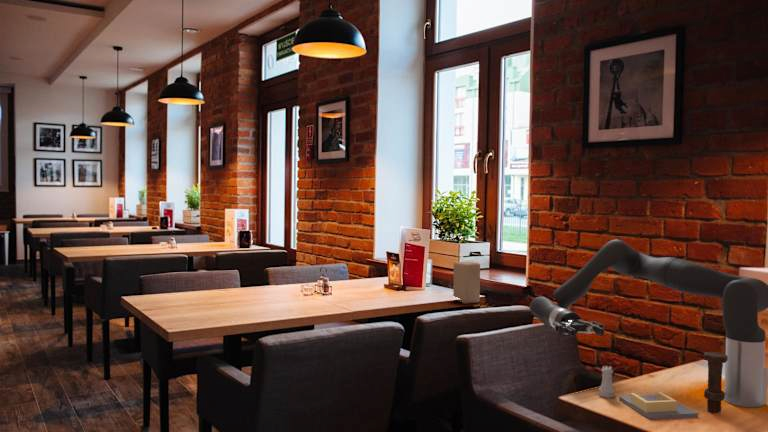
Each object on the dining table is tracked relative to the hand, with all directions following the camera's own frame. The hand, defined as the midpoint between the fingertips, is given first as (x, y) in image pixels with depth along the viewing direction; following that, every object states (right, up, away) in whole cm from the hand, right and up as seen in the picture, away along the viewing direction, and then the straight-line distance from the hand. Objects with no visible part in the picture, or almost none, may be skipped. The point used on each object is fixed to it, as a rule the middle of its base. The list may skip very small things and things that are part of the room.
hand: (588, 333), depth 189 cm
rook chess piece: (+2, -16, -11) cm, 19 cm away
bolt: (+25, -16, -23) cm, 38 cm away
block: (-18, -9, +138) cm, 140 cm away
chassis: (+11, -16, -21) cm, 28 cm away
